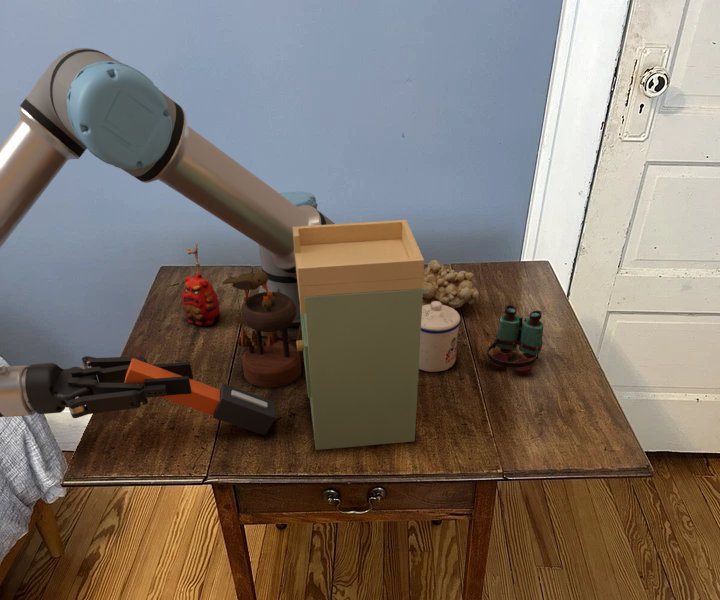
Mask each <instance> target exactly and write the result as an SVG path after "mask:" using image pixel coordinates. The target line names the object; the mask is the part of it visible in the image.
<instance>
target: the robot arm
mask: <svg viewBox="0 0 720 600" xmlns="http://www.w3.org/2000/svg"><path fill="white" fill-rule="evenodd" d="M18 112H19V117H20V118H19V121H18V122H17V124H16V125H15V126H14V128H13V129H12V130H11V132H10V133H9V134H8V136H7V137H6V138H5V140H4V141H3V143H2V144H1V145H0V249H1V248H2V247H3V245H4V244H5V243H6V242H7V240H8V239H9V238H10V236H11V235H12V233H13V232H14V231H15V230H16V228H18V226H19V224H20V223H21V222H22V220H23V219H24V218H25V217H26V215H27V214H28V213H29V211H30V210H31V209H32V208H33V206H34V205H35V204H36V203H37V201H38V200H39V199H40V197H41V196H42V195H43V193H44V192H45V191H46V190H47V188H48V187H49V185H50V184H51V183H52V182H53V180H54V179H55V178H56V176H57V175H58V174H59V173H60V171H61V170H62V169H63V167H64V166H65V165H66V163H67V162H68V161H70V160H79V159H80V158H81V157H82V156H83V154H84V153H85V152H86V150H88V151H89V152H90V153H91V154H92V155H93V156H94V157H95V158H96V159H98V160H100V161H102V162H103V163H104V164H107V165H110V166H113V167H115V168H117V169H120V170H122V171H123V172H126V173H127V174H128V175H130V176H132V177H134V178H135V179H137V180H138V181H140V182H141V183H144V184H149V183H152V182H155V181H160V182H161V183H163V184H164V185H165V186H168V187H169V188H170V189H172V190H173V191H175V192H177V193H178V194H180V195H182V196H183V197H185V198H186V199H188V200H189V201H190V202H192V203H194V204H196V205H197V206H199V207H200V208H202V209H203V210H205V211H206V212H208V213H210V214H211V215H213V216H214V217H216V219H217V218H218V219H219V220H220V221H222V222H224V223H225V224H227V225H228V226H230V227H231V228H233V229H234V230H236V231H238V232H239V233H240V234H242V235H244V236H245V237H247V238H248V239H250V240H251V241H253V242H254V243H257V244H258V250H259V257H260V266H261V271H263V272H265V273H266V274H267V276H268V281H267V287H268V292H279V293H282V294H285V295H287V296H288V297H290V298H291V299H292V300H293V302H294V304H295V306H296V316H295V319H294V321H293V322H292V323H291V324H290V325H289V326H288V327H287V328H295V327H298V328H299V326H301V318H300V300H299V291H298V283H297V275H296V265H295V253H294V241H293V228H292V227H297V226H313V225H329V224H336V223H335V222H334V221H332V220H331V219H330V218H329V217H327V216H326V215H324V214H323V213H322V212H321V211H319V210H318V205H319V204H318V203H317V198H316V196H315V194H312V193H310V192H306V191H299V190H298V191H284V192H278V191H277V190H276V189H274V188H273V187H272V186H270V185H269V184H267V183H266V182H265V181H264V180H262V179H261V178H259V177H258V176H256V175H255V174H253V173H252V172H251V171H250V170H249V169H247V168H246V167H245V166H243V165H241V164H240V163H239V162H238V161H236V160H235V159H234V158H233V157H231V156H230V155H228V154H227V153H225V152H224V151H223V150H221V149H220V148H219V147H217V146H216V145H215V144H213V143H212V142H211V141H209V140H208V139H207V138H205V137H204V136H202V135H201V134H200V133H199V132H197V131H196V130H195V129H193V128H192V127H190V126H189V125H188V122H187V116H186V112H185V110H184V108H183V107H182V106H181V105H180V104H178V103H177V102H175V101H174V100H173V99H171V97H169V96H168V95H167V94H165V93H164V92H163V91H161V89H159V87H158V86H157V85H155V83H154V82H153V81H152V80H151V79H150V78H149V77H148V76H147V75H146V74H144V73H143V72H141V71H140V70H138V69H136V68H135V67H133V66H131V65H128V64H126V63H123V62H120V61H119V60H118V59H115V58H113V57H112V56H110V55H108V54H107V53H105V52H103V51H100V50H99V49H94V48H89V47H78V48H73V49H70V50H67V51H66V52H63V53H62V54H60V55H59V56H57V57H56V58H55V59H54V60H53V61H52V62H51V63H50V64H49V66H48V67H47V68H46V70H45V71H44V72H43V73H42V74H41V76H40V77H39V79H38V80H37V82H36V83H35V84H34V86H33V87H32V89H31V90H30V91H29V93H28V94H27V96H26V97H25V98H24V100H23V101H22V102H21V103H20V105H19V107H18ZM263 292H267V291H266V290H265V289H264V288H263V287H262V286H260V285H259V290H258V293H263ZM132 358H134V359H137V360H140V361H142V362H145V363H148V361H147V360H148V359H147V358H145V356H141V355H140V356H112V357H110V356H109V357H95V356H89V355H86V356H83V357H82V358H81V361H82V364H81V365H79V366H73V367H70V368H65V369H64V368H61V367H60V366H59V365H58V364H57V363H55V362H47V363H46V362H44V363H33V364H30V365H29V366H28V365H27V364H23V365H10V366H6V365H1V366H0V418H10V417H11V418H12V417H27V416H28V417H29V416H35V415H36V413H37V414H38V415H47V414H48V415H49V414H58V413H59V414H60V413H62V412H64V411H65V409H66V408H68V410H69V412H70V416H71V418H73V419H78V418H81V417H85V416H87V415H93V414H94V415H95V414H101V413H102V414H103V413H110V412H119V411H126V410H134V409H139V408H141V406H146V405H147V404H148V403H149V401H148V399H149V398H151V399H152V398H162V397H163V396H168V395H180V394H191V392H192V390H191V386H190V381H189V379H192V380H194V374H193V369H192V365H191V362H190V361H183V362H171V363H170V362H169V363H166V362H165V363H154V364H153V363H152V364H151V365H153V366H156V367H159V368H162V369H164V370H167V371H170V372H173V373H175V374H178V375H181V376H182V377H169V378H156V379H144V384H145V386H143V384H142V383H124V382H125V378H126V373H127V371H128V368H129V366H130V363H131V360H132Z"/></svg>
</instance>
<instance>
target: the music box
mask: <svg viewBox="0 0 720 600" xmlns="http://www.w3.org/2000/svg"><path fill="white" fill-rule="evenodd" d="M267 281H268V276H267V274H266V273H265V272H263V271H262V270H257V271H255V272H246V273H243V274H240V275H238V276H236V277H234V276H228V277H227V278H226V279H225V280H223V281H222V284H223V285H228V284H232V285H231V286H232V288H235V291H236V295H237V302H238V309H239V314H237V315H235V316H234V321H235V323H236V324H238V325H241V333H240V336H238V338H237V345H238V346H239V347H242V348H248V349H247V350H246V351H245V352H244V353H243V354H242V357H241V362H242V370H243V376H244V379H245V380H246V381H247V382H248V383H249V384H252V385H253V386H256V387H259V388H265V389H266V388H269V389H270V388H271V389H272V388H279V387H280V388H281V387H283V386H286V385H289V384H291V383H294V381H296V380H297V379H298V378H299V377H300V376H301V373H302V365H301V364H302V363H301V353H300V351H297V347H295V346H294V345H292V344H291V343H295V344H296V345H297V342H296V341H297V340H301V338H302V330H301V326H298V331H297V334H296V338H292V337H291V336H288V334H289V333H288V328H289V327H288V326H289V325H290V324H291V323H292V322H293V321H294V319H295V316H296V306H295V304H294V302H293V300H292V299H291V298H290V297H288V296H287V295H285V294H282V293H279V292H268V287H267ZM260 286H262V287H263V288H264V289H265V290H266V291H267V292H263V293H259V292H258V293H256V294H253V295H251V296H249V292H248V291H254V290H257V289H259V288H260ZM239 290H241V291H244V296H245V297H244V300H243V301H244V302H243V305H242V306H240V305H241V304H240V299H239V298H240V297H239V292H238V291H239ZM243 326H247V327H249V328H250V329H252V330H251V332H250V336H248V334H247V331H246V330H245V329H244V327H243ZM279 331H281V337H279V334H278V332H279ZM262 333H268V334H267V335H262Z"/></svg>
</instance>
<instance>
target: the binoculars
mask: <svg viewBox="0 0 720 600" xmlns="http://www.w3.org/2000/svg"><path fill="white" fill-rule="evenodd" d="M517 312H518V310H517V308H516V306H514V305H512V304H506V305H505V307H504V314H502V315H501V317H500V319H499V322H498V327H497V333H496V336H495V339H494V340H493V342H492V343H490V345H489V346H488V348H487V349H486V356H487V359H489V362H488V364H489V365H488V366H489V367H490V368H491V369H492V370H494V371H504V370H505V369H506V368H513V372H514V374H515V375H516V376H519V377H525V376H528V375H530V374H531V373H532V371H533V364H535V363H536V362H537V360H538V359H539V354H540V353H541V351H542V348H543V343H544V341H543V335H544V323H543V322H542V321H540V320H541V319H542V315H543V312H542V310H539V309H537V310H533V311H531V312H530V313H529V316H528V317H524V318H523V316H520V315H517ZM523 319H524V320H523ZM517 347H518V349H519V350H520V351H519V352H521V353H522V355H521V358H519V359H518V360H516V361H515V362H511V361H510V362H509V359H508V358H511V357H512V356H513V354H514V350H515V349H517ZM496 348H498V350H497V352H496V353H493V354H492V355H491V353H490V352H491V350H492V349H496Z"/></svg>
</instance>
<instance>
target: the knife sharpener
mask: <svg viewBox="0 0 720 600" xmlns="http://www.w3.org/2000/svg"><path fill="white" fill-rule="evenodd" d="M169 377H182V376H181V375H178V374H175V373H173V372H170V371H167V370H164V369H162V368H159V367H156V366H153V365H152V364H150V363H148V362H147V363H145V362H142V361H140V360H137V359H134V358H132V360H131V363H130V366H129V368H128V371H127V373H126V378H125V382H124V383H142V384H143V386H145V384H144V379H156V378H169ZM189 381H190V386H191V390H192V392H191V394H180V395H168V396H163V397H161V398H162V399H164V400H168V401H169V402H172V403H176V404H179V405H182V406H185V407H188V408H190V409H193V410H196V411H200V412H201V413H205V414H208V415H211V416H212V418H213V419H215V420H218V421H222V422H224V423H227V424H230V425H233V426H236V427H239V428H242V429H245V430H247V431H250V432H253V433H256V434H259V435H261V436H266V435H267V433H268V431H269V430H270V428H271V426H272V424H273V423H274V421H275V419H276V407H275V405H276V404H275V401H273V400H271V399H267V398H265V397H262V396H260V395H257V394H254V393H252V392H249V391H246V390H243V389H241V388H238V387H235V386H233V385H230V384H227V383H224V382H222V383H221V386H220V388H219V389H218V388H216V387H214V386H211V385H208V384H206V383H203V382H200V381H197V380H194V379H189Z"/></svg>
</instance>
